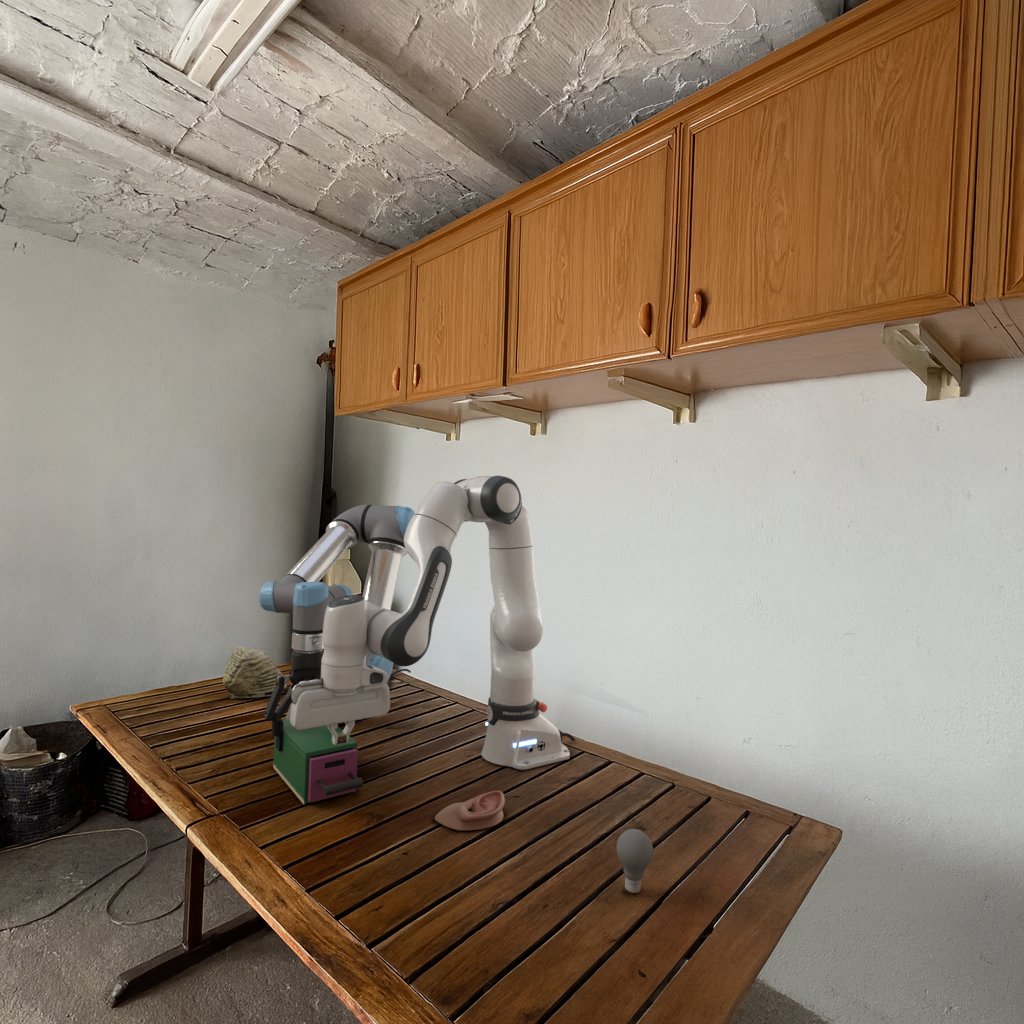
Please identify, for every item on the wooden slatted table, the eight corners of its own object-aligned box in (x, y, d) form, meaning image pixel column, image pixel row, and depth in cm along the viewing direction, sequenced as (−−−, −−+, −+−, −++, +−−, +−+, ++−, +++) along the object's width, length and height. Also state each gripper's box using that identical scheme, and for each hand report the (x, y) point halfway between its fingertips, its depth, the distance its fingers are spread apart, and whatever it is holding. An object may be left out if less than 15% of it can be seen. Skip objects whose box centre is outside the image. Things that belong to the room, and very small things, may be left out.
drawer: (367, 801, 130) (369, 759, 130) (320, 814, 124) (321, 770, 124) (322, 758, 151) (324, 721, 151) (279, 767, 145) (281, 729, 145)
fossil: (218, 695, 195) (220, 647, 195) (278, 685, 208) (279, 640, 207) (228, 703, 189) (230, 653, 188) (289, 692, 201) (290, 645, 201)
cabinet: (355, 791, 137) (357, 742, 137) (303, 804, 130) (305, 753, 130) (320, 757, 154) (322, 713, 153) (273, 767, 147) (274, 721, 147)
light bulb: (610, 879, 108) (613, 822, 108) (644, 879, 109) (647, 822, 109) (619, 902, 102) (622, 840, 102) (655, 901, 103) (658, 840, 103)
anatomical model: (430, 806, 123) (447, 781, 135) (429, 826, 123) (447, 799, 135) (496, 815, 121) (508, 789, 132) (495, 836, 121) (508, 808, 132)
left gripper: (260, 659, 136) (256, 760, 136) (363, 647, 150) (360, 739, 150) (250, 651, 142) (247, 748, 142) (351, 641, 156) (347, 729, 156)
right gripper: (297, 686, 121) (294, 758, 121) (394, 673, 133) (391, 738, 133) (286, 678, 126) (283, 747, 126) (381, 666, 138) (378, 729, 138)
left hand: (305, 744), depth 146 cm, fingers closed on cabinet, 11 cm apart
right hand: (340, 742), depth 130 cm, fingers closed
